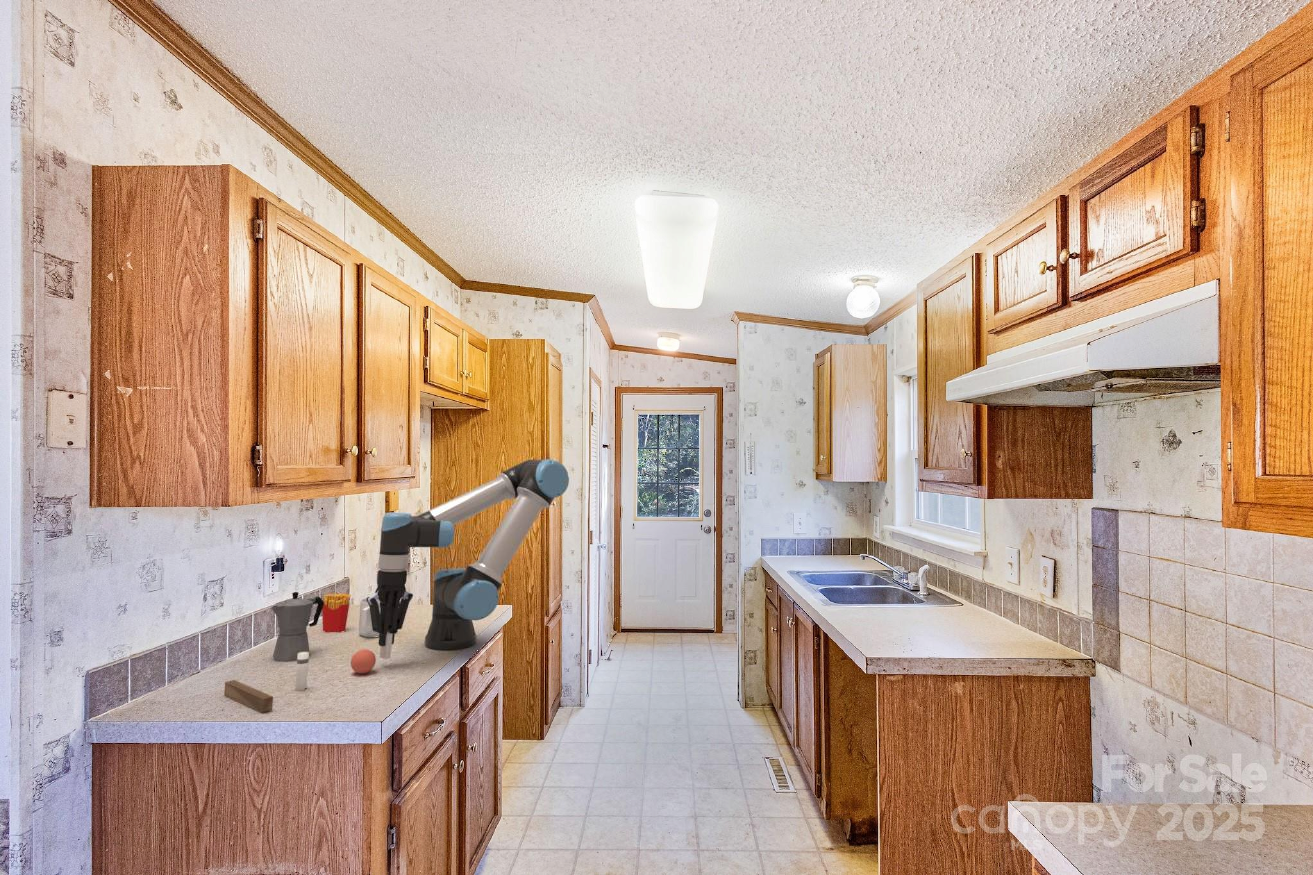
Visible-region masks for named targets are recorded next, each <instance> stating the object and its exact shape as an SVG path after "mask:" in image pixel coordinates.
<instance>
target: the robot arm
mask: <svg viewBox="0 0 1313 875" xmlns="http://www.w3.org/2000/svg"><path fill="white" fill-rule="evenodd" d="M569 477H570V476H569V472H568V470H567V469H566V466H565V465H563V464H562V463H561V462H560V461H557V460H554V459H550V458H545V459H527V460H525V461H522V462H520V463H518V464H516V465H513V466H512V467H509V468H508V469H506V470H504V471H501V472H500V473H498V474H497V477H496V478H494V479H492V480H490V481H488V482H486V483H484V484H482V485H480V486H477V487H475V488H473V489H470V490H468V491H467V492H465V493H462V494H461V495H459V496H456V497H455V498H454V497H453V499H450V500H448V501H446V502H444V503H442V504H441V503H440V505H437V506H436V507H433V508H431V509H429V510H427V511H425V512H423V513H420V514H419V515H414V516H413V515H412V514H411V513H406V512H387V513H385V514H384V515H383V517H382V522H381V528H380V543H379V544H380V545H379V554H378V555H379V556H378V566H377V567H378V571H377V576H376V585H377V587H376V589H375V591H374V594H373V595H372V596H367V597H366V598H367V599H366V600H367V602H368V604H369V607H370V615H371V622H372V629H373V631H374V632H377V633H379V637H378V646H380V650H379V658H382V659H385V660H388V659H391V655H392V645H394V643H395V634H397V633H398V631H399V630H401V629H403V626H404V622H405V619H406V615H407V612H408V608H409V604H410V602H411V601H412V599H413V597H414V594H413V593H411V592H408V591H407V588H406V584H407V579H408V578H407V577H408V571H407V569H408V568H409V556H410V555H409V554H410V548H412V549H413V548H438V549H441V548H447V547H450V546H451V545H452V544H453V542H454V539H455V527H454V526H455V525H457V524H459V523H462V522H463V521H466V520H467V519H469V518H472V517H474V516H476V515H477V514H479V513H481V512H483V511H485V510H487V509H490V508H491V507H494V506H495V505H498V504H499V503H502V502H503V501H505V500H511V501H512V500H514V499H515V500H514V502H513V503H512V505H511V506H510V508H509V510H508V511H507V513H506V514H505V516H504V518H503V519H502V520H501V521H500V524H499V526H498V527H497V529H496V530H495V532H494V533H493V535H492V536H491V538H490V539H489V541H488V543H487V544H486V546H485V547H484V549H483V551H482V552H481V554H480V556H479V557H478V559H477V560H476V562H474V563H470V564H468V565H467V566H466V567H463V568H445V569H438V570H436V571H435V573H434V576H433V581H432V583H433V589H432V590H433V591H432V592H433V593H432V594H433V595H432V611H431V612H432V614H431V621H430V623H429V626H428V628H427V633H426V635H425V637H424V646H425V647H426V648H429V649H433V650H441V651H442V650H443V651H445V650H446V651H447V650H448V651H450V650H451V651H453V650H459V649H466V648H470V647H472V646H474V645H475V644H476V643H477V634H476V631H475V627H474V623H473V621H479V620H482V619H483V620H484V619H485V618H487V617H489V616H490V615H491V614H492V613H493V612H494V611H495V609H496V608H497V606H498V603H499V600H500V599H499V590H500V589H501V587H502V585H503V582H502V576H503V574H504V573H505V571H506V569H507V567H508V566H509V564H510V562H511V561H512V559H513V558H514V556H515V555H516V553H517V551H518V549H519V547H520V546H521V544H522V543H523V541H524V539H525V538H526V537H527V534H528V533H529V531H530V529H531V527H532V526H533V525H534V523H535V521H536V520H537V518H538V517H539V515H540V513H541V512H542V510H545V509H548V508H550V506H551V504H552V503H553V501H554V499H555V498H558V497H560V496H562V495H563V494H564V493H565V492H566V491H567V489H568V486H569V485H570V484H569V483H570V478H569ZM378 599H379V601H380V612H379V605H378V602H379V601H378Z"/></svg>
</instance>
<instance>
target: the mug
mask: <svg viewBox="0 0 1313 875" xmlns="http://www.w3.org/2000/svg"><path fill="white" fill-rule="evenodd" d="M366 599H367V597H365V598H362V599H360V605H359V622H358V623H359V624H358V634H359V635H360V636H361V635H362V636H365V637H364V638H367V637H374V636H379V633H377V632H374V631H373V629H372V622H371V615H370V607H369V604H368V602H367V600H366ZM378 601H379V599H378ZM378 605H379V612H380V601H379V602H378ZM362 636H361V637H362ZM374 638H375V637H374Z"/></svg>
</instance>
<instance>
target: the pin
mask: <svg viewBox="0 0 1313 875" xmlns="http://www.w3.org/2000/svg"><path fill="white" fill-rule="evenodd" d="M309 652H310V651H309ZM309 652H300V653H298V656H297V660H296V673H295V674H296V676H295V677H296V678H295V689H296V690H295V691H297V690H301V691H305V690H306V689H305V688H308V676H309V674H308V673H309V670H308V669H309V663H310V658H309V656H310V655H309ZM304 689H305V690H304Z"/></svg>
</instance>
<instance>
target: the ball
mask: <svg viewBox="0 0 1313 875" xmlns="http://www.w3.org/2000/svg"><path fill="white" fill-rule="evenodd" d="M376 663H377V658H376V655H375V653H374V652H373V651H372V650H369V649H366V648H365V649H360V650H358V651H356V652H355V653H354V654H353V655H352V657H351V658H350V667H351V669H352V670H353V672H355V673H357V674H360V675H361V674H366V673H369V672H370V671H371V670H372V669H374V667H375V665H376Z"/></svg>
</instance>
